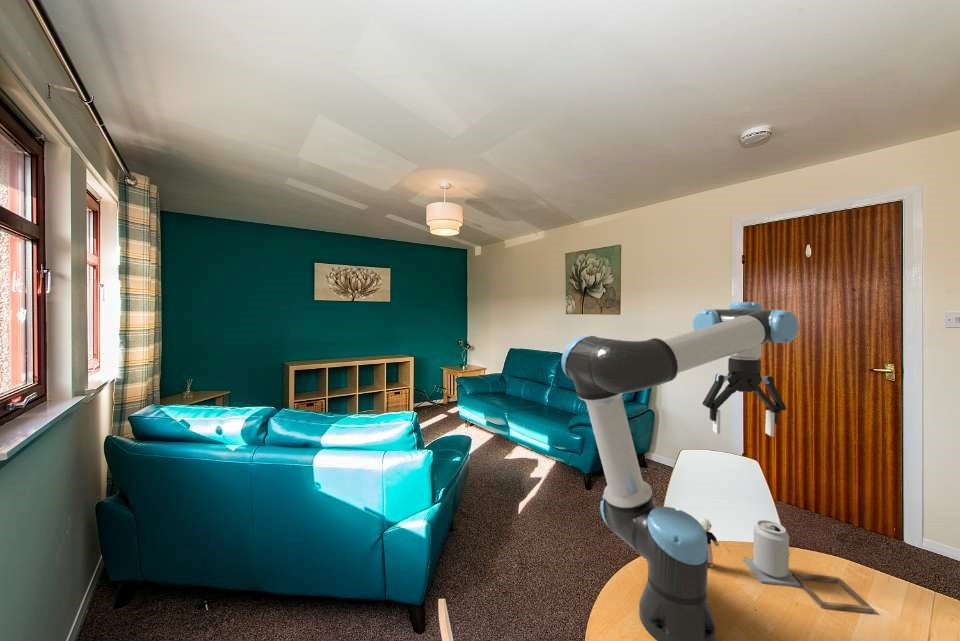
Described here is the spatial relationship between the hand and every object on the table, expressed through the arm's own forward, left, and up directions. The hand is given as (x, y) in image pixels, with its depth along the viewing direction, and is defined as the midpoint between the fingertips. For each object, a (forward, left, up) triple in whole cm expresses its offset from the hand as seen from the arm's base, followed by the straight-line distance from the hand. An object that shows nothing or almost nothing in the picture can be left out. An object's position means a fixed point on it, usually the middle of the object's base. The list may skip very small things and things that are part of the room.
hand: (742, 433), depth 109 cm
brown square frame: (+14, -13, -34) cm, 39 cm away
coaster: (+4, -7, -34) cm, 35 cm away
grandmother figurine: (-12, -6, -35) cm, 37 cm away
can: (+4, -7, -34) cm, 35 cm away
